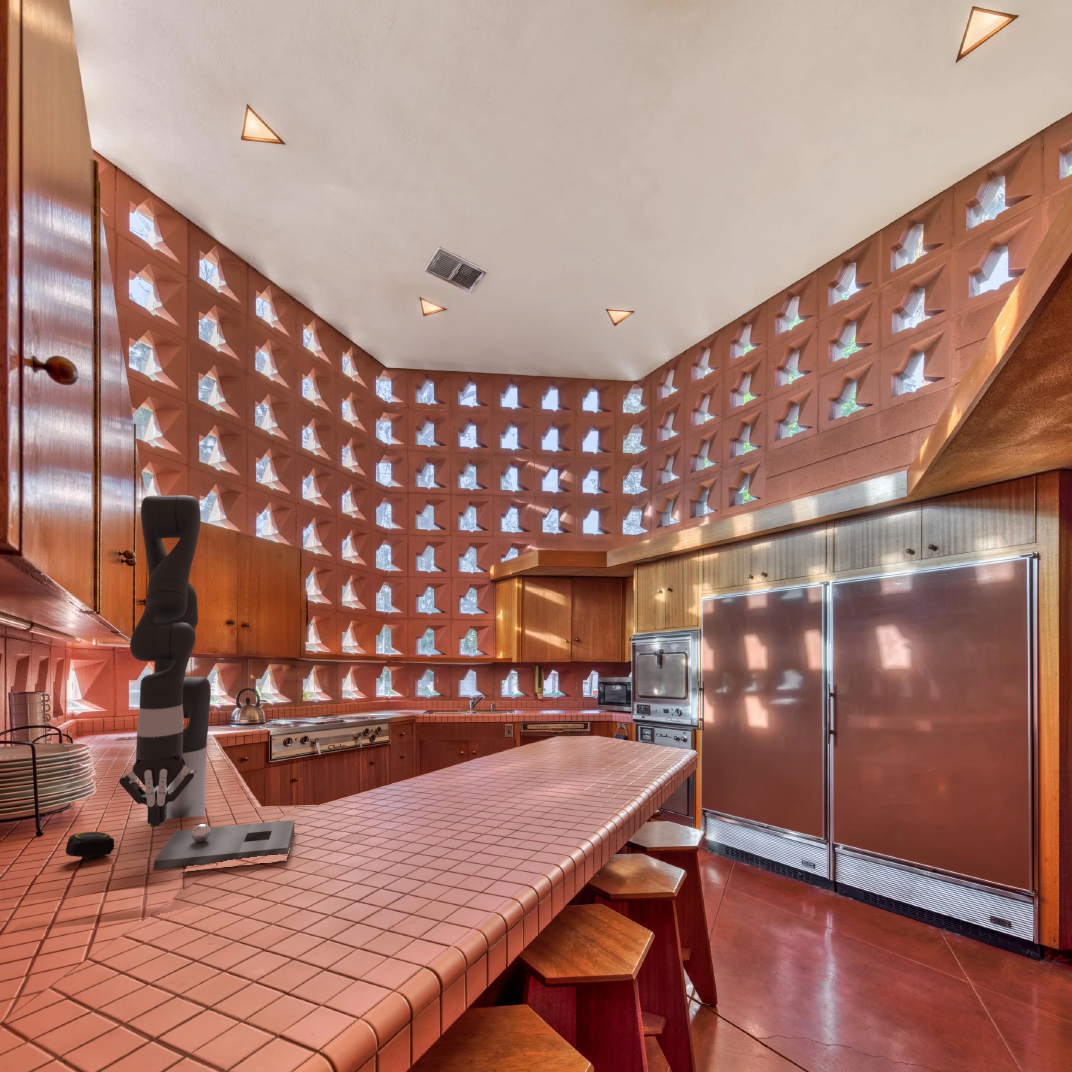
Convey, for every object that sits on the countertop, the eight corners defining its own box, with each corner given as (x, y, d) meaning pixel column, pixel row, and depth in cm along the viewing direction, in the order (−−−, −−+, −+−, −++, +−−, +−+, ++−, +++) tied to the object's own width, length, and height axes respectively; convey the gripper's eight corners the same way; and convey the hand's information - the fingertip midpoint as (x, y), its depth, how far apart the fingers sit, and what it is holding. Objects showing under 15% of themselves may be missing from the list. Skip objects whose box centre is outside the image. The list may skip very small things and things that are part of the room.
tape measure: (68, 862, 116) (73, 839, 117) (60, 854, 121) (65, 832, 122) (111, 859, 121) (116, 837, 122) (102, 851, 126) (107, 830, 127)
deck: (153, 875, 114) (154, 861, 114) (174, 843, 128) (175, 830, 128) (287, 861, 120) (287, 847, 120) (294, 832, 133) (294, 819, 134)
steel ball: (190, 840, 123) (190, 823, 123) (208, 836, 125) (209, 819, 125) (192, 846, 120) (193, 828, 120) (211, 842, 122) (212, 825, 122)
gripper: (112, 737, 116) (108, 836, 115) (194, 732, 120) (191, 829, 119) (127, 727, 124) (123, 821, 123) (203, 723, 127) (200, 814, 126)
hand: (157, 825), depth 121 cm, fingers closed
